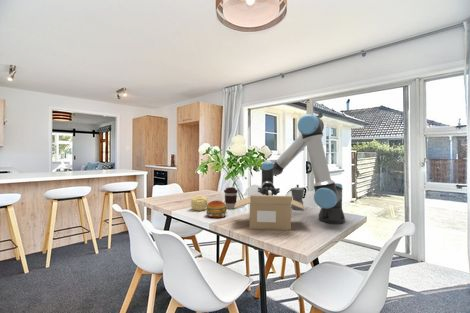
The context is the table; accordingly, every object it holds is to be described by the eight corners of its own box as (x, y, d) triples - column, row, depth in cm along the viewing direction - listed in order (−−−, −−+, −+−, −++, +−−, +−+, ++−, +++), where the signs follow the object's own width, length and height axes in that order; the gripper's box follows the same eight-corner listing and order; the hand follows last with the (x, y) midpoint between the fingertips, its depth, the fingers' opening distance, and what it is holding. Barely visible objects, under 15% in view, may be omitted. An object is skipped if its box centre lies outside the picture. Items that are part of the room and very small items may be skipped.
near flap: (292, 196, 118) (292, 196, 118) (290, 203, 126) (290, 204, 125) (250, 195, 120) (250, 196, 120) (250, 202, 127) (250, 203, 127)
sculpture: (191, 212, 163) (191, 196, 163) (190, 208, 174) (190, 193, 174) (208, 211, 165) (208, 196, 165) (206, 207, 177) (206, 193, 177)
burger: (201, 216, 153) (201, 200, 153) (216, 212, 163) (216, 198, 163) (216, 220, 144) (216, 203, 144) (231, 215, 154) (231, 200, 154)
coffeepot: (294, 211, 168) (295, 186, 167) (286, 208, 176) (286, 184, 176) (310, 209, 175) (311, 184, 175) (301, 206, 183) (302, 183, 183)
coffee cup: (235, 210, 170) (236, 189, 170) (222, 209, 172) (222, 188, 172) (238, 207, 180) (238, 187, 180) (225, 206, 182) (225, 186, 182)
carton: (298, 217, 152) (298, 195, 152) (307, 230, 125) (307, 204, 125) (237, 215, 155) (237, 193, 155) (233, 228, 128) (233, 202, 128)
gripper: (278, 194, 144) (282, 202, 121) (257, 194, 146) (257, 201, 122) (278, 182, 144) (283, 188, 121) (257, 181, 146) (257, 187, 122)
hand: (270, 195), depth 122 cm, fingers closed
